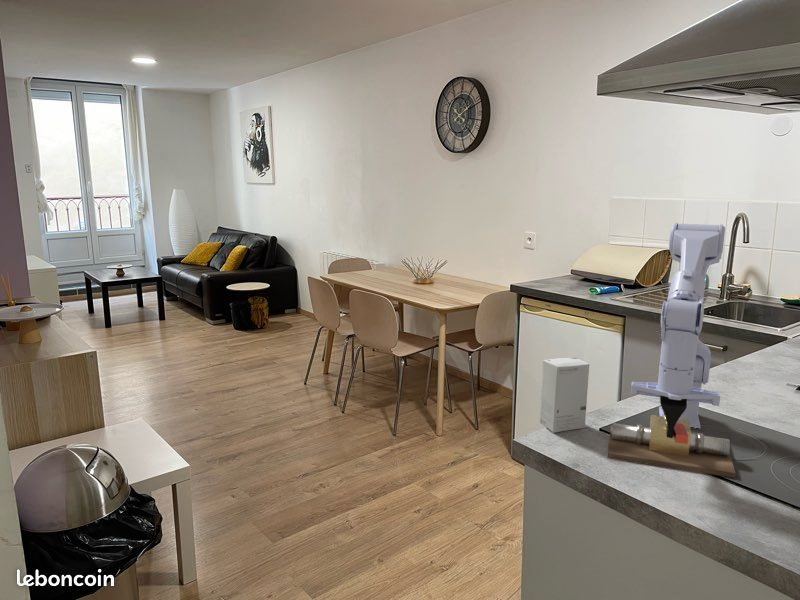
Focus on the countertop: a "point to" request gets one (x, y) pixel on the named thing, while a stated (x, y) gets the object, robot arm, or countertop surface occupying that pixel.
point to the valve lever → (679, 433)
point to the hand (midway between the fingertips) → (669, 435)
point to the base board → (671, 458)
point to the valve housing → (667, 445)
